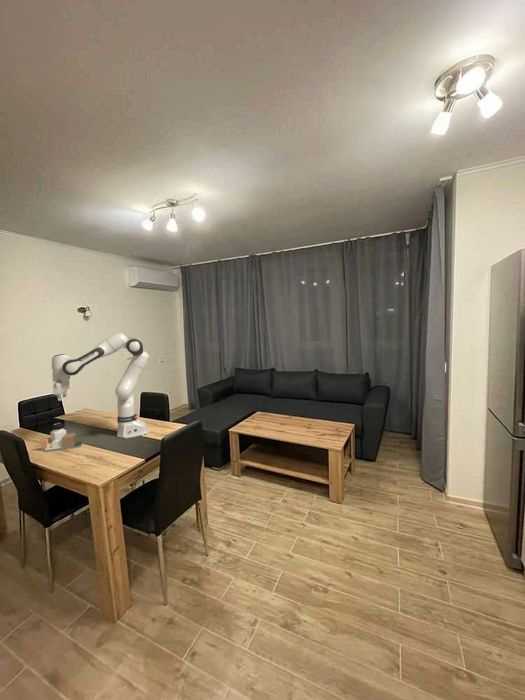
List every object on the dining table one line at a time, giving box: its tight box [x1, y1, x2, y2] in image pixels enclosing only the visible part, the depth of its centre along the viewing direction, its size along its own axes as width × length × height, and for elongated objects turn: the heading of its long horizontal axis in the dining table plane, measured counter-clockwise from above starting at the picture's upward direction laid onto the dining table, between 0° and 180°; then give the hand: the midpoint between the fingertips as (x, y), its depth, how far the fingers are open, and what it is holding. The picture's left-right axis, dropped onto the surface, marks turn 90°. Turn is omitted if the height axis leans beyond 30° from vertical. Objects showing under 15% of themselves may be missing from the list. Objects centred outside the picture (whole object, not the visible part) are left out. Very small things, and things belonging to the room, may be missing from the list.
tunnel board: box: [43, 432, 84, 453], centre depth 190 cm, size 20×8×8 cm, turn 109°
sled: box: [40, 438, 63, 450], centre depth 188 cm, size 12×4×5 cm, turn 109°
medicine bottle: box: [50, 422, 67, 443], centre depth 200 cm, size 7×7×12 cm
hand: (62, 398), depth 193 cm, fingers open, 8 cm apart
